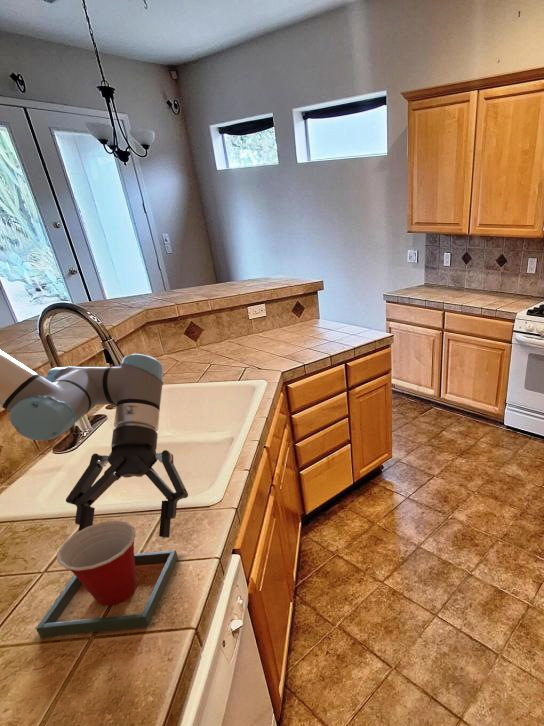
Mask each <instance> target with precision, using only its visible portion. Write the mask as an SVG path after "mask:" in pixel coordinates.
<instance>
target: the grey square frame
mask: <svg viewBox="0 0 544 726" xmlns="http://www.w3.org/2000/svg"><path fill="white" fill-rule="evenodd" d="M134 558H135V566H139V565H152V564H163V563H165V564H164V566H163V568H162V570H161V572H160V574H159V576H158V579H157V581H156V583H155V585H154V587H153V589H152V591H151V594H150V596H149V598H148V599H147V602H146V604H145V607H144V608H143V611H142V613H135V614H127V615H126V614H124V615H117V616H105V617H98V618H96V617H95V618H87V619H77V620H76V619H75V620H69V621H59V622H58V620H59V619H60V617H61V616H62V615H63V613H64V612H65V610H66V609H67V607H68V606H69V604H70V602H71V601H72V600H73V598H74V597H75V595H76V594H77V592H78V591H79V589H80V588H81V586H82V585H83V584H82V583H81V582H80V580H79V579H78V578H77V577H76V575H75V574H74V573H73V576H72V577H71V579H70V580H69V581H68V582H67V584H66V585H65V587H64V589H63V590H62V591H61V592H60V594H59V595H58V597H57V598H56V599H55V601H54V602H53V604H52V605H51V607H50V608H49V609H48V610H47V612H46V613H45V615H44V616H43V618H42V619H41V620H40V622H39V624H38V625H36V628H35V630H36V631H37V634H38V635H39V637H40V638H50V637H51V638H52V637H60V636H68V635H77V634H78V635H79V634H88V633H98V632H106V631H115V630H125V629H126V630H127V629H134V628H143V627H150V624H151V621H152V619H153V617H154V615H155V613H156V610H157V608H158V606H159V603H160V601H161V600H162V599H161V598H162V596H163V594H164V593H165V590H166V588H167V585H168V583H169V581H170V578H171V576H172V574H173V572H174V569H175V567H176V565H177V563H178V560H179V556H178V553H177V550H176V549H175V550H174V549H173V550H165V551H164V550H162V551H151V552H149V551H148V552H139V553H138V552H137V553H134Z"/></svg>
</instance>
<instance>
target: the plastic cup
mask: <svg viewBox="0 0 544 726" xmlns="http://www.w3.org/2000/svg"><path fill="white" fill-rule="evenodd" d="M78 531H79V530H78ZM78 531H77V532H75V533H73V534H72V535H71V536H69V538H67V539H66V540H65V541H64V542H63V543H62V544H61V545H60V547H59V549H58V551H57V552H56V562H57V563H58V564H59V565H60V566H61V567H63V568H64V569H65V570H70V572H71V573H73V575H74V574H75V575H76V577H77V578H78V579H79V580H80V582H81V583H82V584H81V585H82V586H83V587H84V588H85V589H86V591H88V593H90V594H91V596H92V597H93V599H94V600H95V601H96V602H97V603H98V604H99V605H101V606H105V607H110V606H116V605H118V604H121V603H124V602H125V601H126V600H128V599H129V598H131V596H133V595H134V593H135V592H136V589H137V587H138V586H137V576H136V575H137V570H136V569H137V568H136V565H135V558H134V554H135V551H134V550H135V546H134V545H135V542H134V541H135V539H136V531H135V527H134V526H133V525H132V524H130V523H129V522H127V521H122V520H107V521H101V522H98V523H95V524H93V525H92V526H89V527H86V528H84V529H83V530H81V531H79V532H78Z"/></svg>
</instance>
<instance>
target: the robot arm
mask: <svg viewBox="0 0 544 726" xmlns="http://www.w3.org/2000/svg"><path fill="white" fill-rule="evenodd" d="M163 370H164V366H163V364H162V363H161V362H160V361H159V360H158V359H156V358H155V357H153V356H151V355H146V354H143V353H142V354H140V353H131V354H130V355H125V356H124V357H123V358H122V359H121V363H120V364H119V366H76V365H75V366H74V365H70V366H60V367H59V366H58V367H53V368H51V369H50V370H48V372H47V373H46V374H47V375H46V376H44V377H43V376H42V375H40V374H39V373H37V372H35V371H34V370H32V369H31V368H29V367H28V366H26V365H25V364H23V363H22V362H20V361H18V360H17V359H15V358H14V357H12V356H11V355H9V354H7V353H6V352H5V351H2V350H1V349H0V407H1V408H2V409H3V410H6V411H8V412H9V421H10V424H11V425H12V426H13V428H14V429H15V430H16V432H17V433H18V434H19V435H20V436H22V437H24V438H26V439H29V440H33V441H40V442H41V441H42V442H44V441H45V442H46V441H51V440H54V439H55V438H58V437H59V436H60V435H62V434H65V432H67V431H68V430H70V429H72V428H73V427H74V426H75V424H76V423H77V422H78V421H79V420H81V419H82V418H83V417H84V416H85V415H86V414H88V413H89V412H90V411H92V410H93V408H95V407H96V406H101V405H104V406H105V405H107V406H108V405H116V406H115V412H114V413H115V415H114V420H113V421H114V422H113V426H114V429H113V430H112V437H111V445H110V446H111V447H110V448H111V452H110V453H109V455H100V454H98V453H93V454H92V455H91V457H90V461H89V464H88V466H87V468H86V469H85V470H84V472H83V473H82V475H81V476H80V477H79V479H78V481H77V482H76V483H75V485H74V486H73V488H72V490H71V491H70V492H69V494H68V495H67V496H66V498H65V502H66V503H67V504H70V505H74V506H76V510H75V511H76V513H75V518H74V523H75V525H78V531H77V532H79V531H81V530H83V529H84V528H86V527H89V526H92V525H94V517H95V510H96V509H95V507H93V504H94V503H95V502H96V501H97V500H98V499H99V498H101V496H102V495H103V494H104V493H105V492H106V491H107V490H108V489H109V488H110V487H111V486H112V485H113V484H114V483H115V482H117V481H119V480H120V479H121V478H122V477H123V478H124V479H125V478H126V479H127V478H132V477H137V478H142V477H143V476H146V477H147V478H148V479H149V481H151V483H152V484H153V485H154V486H155V487H156V488H157V490H159V492H160V493H161V494H162V495H163V496H164V497H165V500H161V507H160V519H159V531H158V533H159V534H158V537H160V538H167V539H168V538H170V533H171V532H170V531H171V520H173V519H176V516H177V508H178V502H179V501H180V500H182V499H187V498H188V497H189V493H188V491H187V488H186V486H185V485H184V482H183V480H182V478H181V476H180V473H179V472H178V470H177V468H176V466H175V463H174V462H175V461H174V454H173V453H171V452H170V451H169V450H167V449H164V450H162V451H161V452H158V453H157V447H158V438H159V437H158V435H159V434H158V431H159V425H160V412H161V400H162V392H163V385H164V380H163V379H164V375H163V373H164V371H163ZM157 462H160V463H161V464H162V466H163V468H164V470H165V472H166V474H167V476H168V479H169V480H170V483H171V484H172V487H173V489H174V490H175V492H174V491H173V490H172V489H171V487H170V486H169V485H168V484H167V483H166V482H165V481H164V480H163V479H162V477H161V476H160V475H159V474H158V473H157V471H156V470H155V469H154V468H153V466H154V465H155V464H156V463H157ZM108 463H109V465H110V466H109V467H108V468H107V469H106V470H105V471H104V472H103V474H102V476H101V477H100V478H98V477H99V476H100V474H101V473H102V471H103V470H104V468H105V467H107V464H108ZM97 479H98V480H97Z"/></svg>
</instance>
